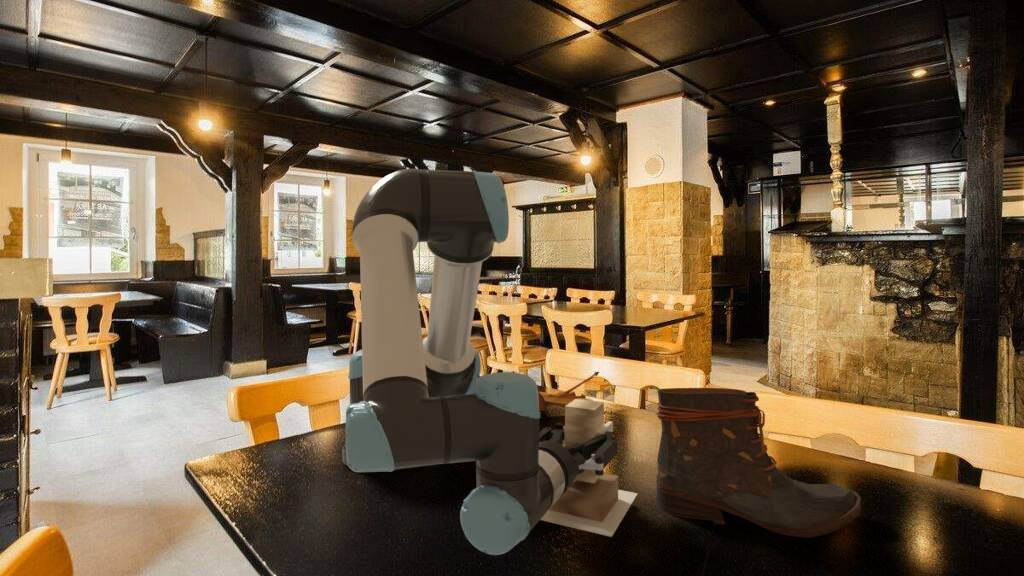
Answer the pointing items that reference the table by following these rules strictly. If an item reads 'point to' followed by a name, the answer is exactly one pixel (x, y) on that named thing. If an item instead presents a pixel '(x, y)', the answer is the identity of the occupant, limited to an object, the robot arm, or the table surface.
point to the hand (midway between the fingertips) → (594, 426)
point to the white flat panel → (590, 525)
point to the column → (583, 427)
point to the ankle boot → (736, 468)
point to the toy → (560, 397)
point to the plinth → (589, 498)
